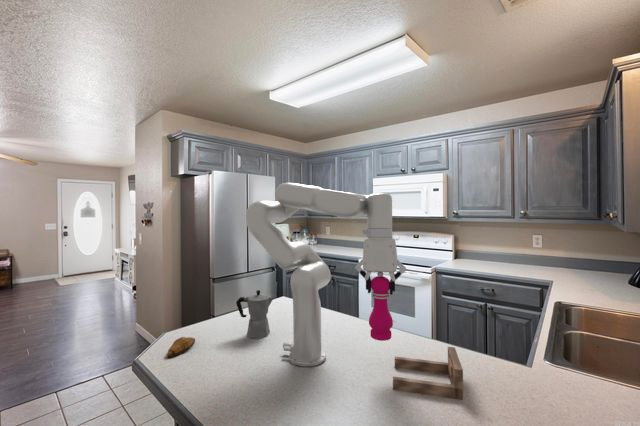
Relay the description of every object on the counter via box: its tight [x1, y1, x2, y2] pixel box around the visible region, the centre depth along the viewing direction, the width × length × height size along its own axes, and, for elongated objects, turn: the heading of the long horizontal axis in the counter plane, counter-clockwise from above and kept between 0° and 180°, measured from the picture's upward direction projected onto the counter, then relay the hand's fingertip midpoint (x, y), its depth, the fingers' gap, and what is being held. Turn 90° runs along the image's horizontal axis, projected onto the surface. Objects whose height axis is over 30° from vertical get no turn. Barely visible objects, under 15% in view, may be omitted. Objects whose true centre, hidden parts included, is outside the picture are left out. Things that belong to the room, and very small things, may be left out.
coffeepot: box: [236, 289, 275, 339], centre depth 125 cm, size 15×9×18 cm, turn 103°
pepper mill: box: [368, 272, 394, 342], centre depth 93 cm, size 7×7×20 cm
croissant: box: [166, 336, 196, 359], centre depth 111 cm, size 14×7×5 cm, turn 165°
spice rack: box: [392, 346, 464, 401], centre depth 89 cm, size 18×14×8 cm
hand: (380, 292), depth 93 cm, fingers closed on pepper mill, 6 cm apart
